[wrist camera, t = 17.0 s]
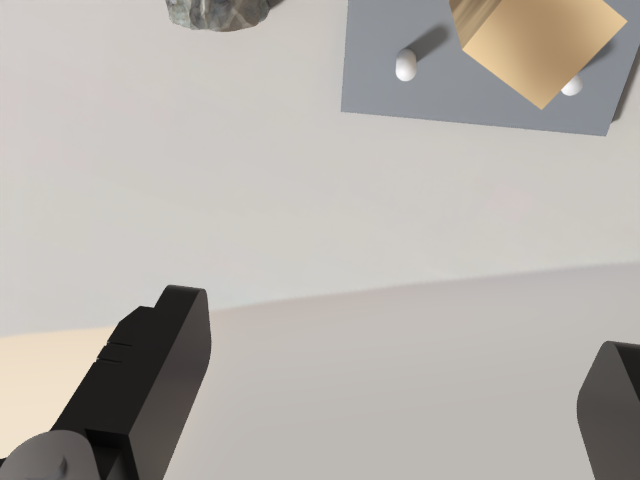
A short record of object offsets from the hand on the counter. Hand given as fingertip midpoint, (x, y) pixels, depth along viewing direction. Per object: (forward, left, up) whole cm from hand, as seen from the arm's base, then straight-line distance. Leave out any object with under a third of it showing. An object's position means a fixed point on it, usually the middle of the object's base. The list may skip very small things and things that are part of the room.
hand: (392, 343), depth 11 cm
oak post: (+6, +2, -33) cm, 33 cm away
